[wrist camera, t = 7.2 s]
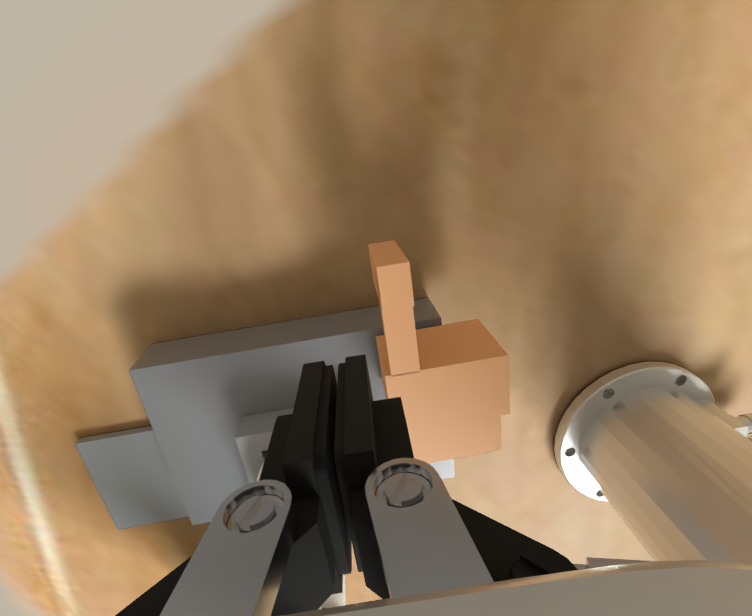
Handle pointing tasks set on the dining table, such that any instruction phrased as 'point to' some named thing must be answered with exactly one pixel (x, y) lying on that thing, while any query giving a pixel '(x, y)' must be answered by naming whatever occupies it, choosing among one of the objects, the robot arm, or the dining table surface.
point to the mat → (132, 477)
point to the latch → (438, 369)
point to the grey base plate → (246, 394)
